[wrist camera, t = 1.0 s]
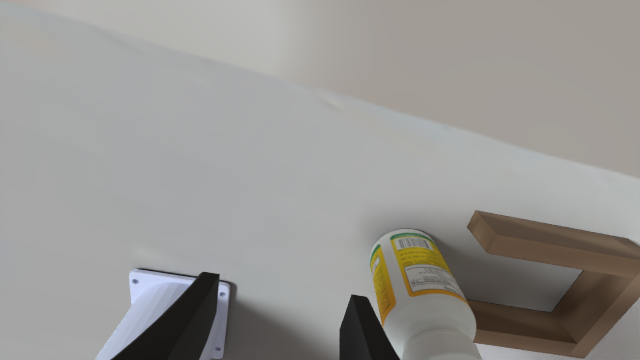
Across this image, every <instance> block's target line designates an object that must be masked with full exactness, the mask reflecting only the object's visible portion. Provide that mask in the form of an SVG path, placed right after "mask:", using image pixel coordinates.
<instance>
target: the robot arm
mask: <svg viewBox="0 0 640 360" xmlns="http://www.w3.org/2000/svg"><path fill="white" fill-rule="evenodd" d="M219 276H220V274H215V273H208V272H202V273H200V274H199V276H198V277H197V278H192V277H185V276H179V275H172V274H166V273H159V272H152V271H146V270H139V269H134V270H132V271H131V272H130V273H129V282H130V293H131V304H132V307H131V308H130V309H129V311H128V312H127V314H126V315H125V317H124V318H123V319H122V321H121V322H120V324H119V325H118V327H117V328H116V329H115V331H114V332H113V334H112V335H111V337H110V338H109V339H108V341H107V342H106V344H105V345H104V347H103V348H102V349H101V351H100V352H99V354H98V355H97V357H96V358H95V359H94V360H211V358H213V359H221V358H222V357H223V354H224V345H225V335H226V326H227V316H228V306H229V296H230V285H229V284H228V283H225V282H219ZM222 292H224V293H222ZM340 360H400V358H399V357H398V355H397V353H396V352H395V350H394V348H393V346H392V344H391V343H390V341H389V339H388V337H387V335H386V334H385V332H384V330H383V328H382V326H381V324H380V322H379V320H378V318H377V316H376V314H375V312H374V310H373V308H372V306H371V304H370V302H369V299H368V298H367V297H364V296H358V295H351V298H350V301H349V304H348V307H347V310H346V313H345V316H344V319H343V321H342V324H341V327H340Z"/></svg>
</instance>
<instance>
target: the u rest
mask: <svg viewBox="0 0 640 360" xmlns="http://www.w3.org/2000/svg"><path fill="white" fill-rule="evenodd" d="M467 228H468V229H469V230H470V232H471V233H472V234H473V236H474V237H475V238H476V239H477V241H478V242H479V243H480V245H481V246H482V247H483V249H484V250H485V251H486V252H487V253H489V254H495V255H501V256H506V257H512V258H518V259H524V260H530V261H535V262H541V263H547V264H553V265H559V266H564V267H570V268H576V269H582V270H583V272H582V273H581V274H580V276H579V277H578V278H577V280H576V281H575V282H574V284H573V285H572V286H571V288H570V289H569V290H568V292H567V293H566V294H565V295H564V297H563V298H562V299H561V301H560V302H559V303H558V305H557V306H556V307H555V309H554V310H553V311H552V313H549V312H543V311H537V310H530V309H524V308H517V307H511V306H505V305H498V304H492V303H486V302H479V301H473V300H467V299H466V301H467V303H468V304H469V306H470V308H471V310H472V312H473V314H474V317H475V320H476V334H475V338H474V340H473V342H474V343H479V344H486V345H493V346H500V347H507V348H514V349H521V350H528V351H535V352H542V353H548V354H555V355H562V356H569V357H576V358H583V359H584V358H585V357H586V356H587V355H588V354H589V352H590V351H591V350H592V349H593V348H594V347H595V346H596V345H597V344H598V343H599V341H600V340H601V339H602V338H603V337H604V336H605V335H606V334H607V333H608V331H609V330H610V329H611V328H612V327H613V326H614V325H615V324H616V323H617V322H618V320H619V319H620V318H621V317H622V316H623V315H624V314H625V313H626V312H627V311H628V309H629V308H630V307H631V306H632V305H633V304H634V303H635V302H636V301H637V300H638V298H639V297H640V247H639V246H638V245H636V244H635V243H633V242H632V241H630V240H629V239H626V238H621V237H616V236H610V235H605V234H599V233H594V232H589V231H583V230H578V229H572V228H567V227H562V226H556V225H551V224H545V223H540V222H535V221H529V220H524V219H518V218H513V217H508V216H502V215H497V214H491V213H486V212H481V211H475V213H474V215H473V217H472V219H471V221H470V223H469V225H468V227H467Z"/></svg>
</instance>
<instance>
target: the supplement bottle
mask: <svg viewBox="0 0 640 360" xmlns="http://www.w3.org/2000/svg"><path fill="white" fill-rule="evenodd" d="M370 267H371V272H372V277H373V282H374V287H375V292H376V297H377V302H378V307H379V312H380V317H381V322H382V327H383V330H384V332H385V334H386V335H387V337H388V339H389V341H390V343H391V344H392V346H393V348H394V350H395V352H396V353H397V355H398V356H399V357H400V358H402V360H482V358H481V356H480V354H479V351H478V349H477V347H476V345H475V344H474V342H473V340H474V338H475V334H476V320H475V317H474V314H473V312H472V310H471V308H470V306H469V304H468V303H467V301H466V299H465V297H464V295H463V293H462V291H461V289H460V288H459V286H458V284H457V282H456V280H455V279H454V277H453V275H452V273H451V271H450V270H449V268H448V266H447V264H446V262H445V260H444V258H443V256H442V255H441V253H440V251H439V249H438V247H437V245H436V244H435V242H434V241H433V240H432V239H431V238H430V237H429V236H428V235H427V234H425V233H423V232H421V231H418V230H414V229H399V230H394V231H392V232H389V233H387V234H385V235H384V236H382V237H381V238H380V239H379V240H378V241H377V242H376V243H375V245H374V246H373V248H372V250H371V254H370Z"/></svg>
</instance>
